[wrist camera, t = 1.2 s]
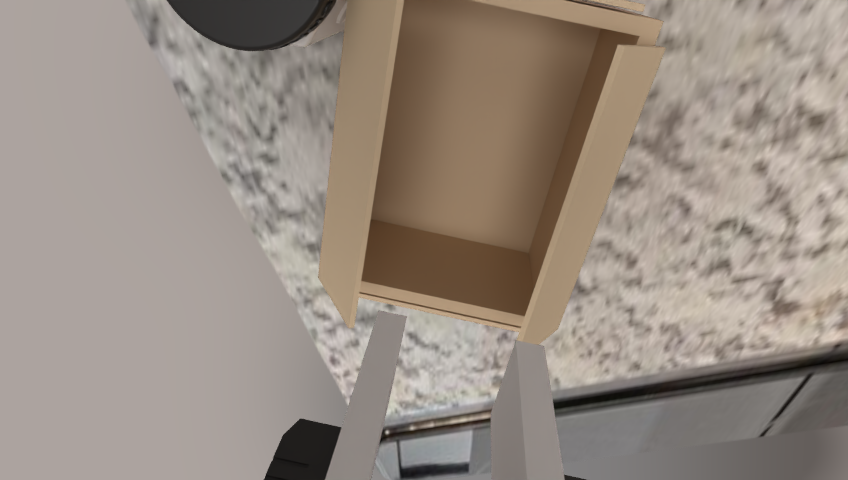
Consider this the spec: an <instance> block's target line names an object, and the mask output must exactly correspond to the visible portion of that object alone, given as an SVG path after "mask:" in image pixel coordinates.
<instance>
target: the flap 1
mask: <svg viewBox="0 0 848 480" xmlns="http://www.w3.org/2000/svg"><path fill="white" fill-rule="evenodd" d="M403 4H404V0H347V10H346V19H345V28H344V38H343V47H342V57H341V66H340V76H339V85H338V94H337V104H336V113H335V123H334V132H333V142H332V151H331V161H330V170H329V179H328V189H327V198H326V208H325V217H324V227H323V236H322V245H321V255H320V264H319V274H318V278H319V280H320V281H321V283H322V285H323V286H324V288H325V290H326V291H327V293H328V295H329V296H330V298H331V300H332V301H333V303H334V305H335V306H336V308H337V310H338V311H339V313H340V315H341V316H342V318H343V320H344V321H345V323H346V325H347V326H348V328H354V325H355V318H356V311H357V305H358V298H359V292H360V285H361V279H362V272H363V266H364V259H365V253H366V246H367V239H368V233H369V226H370V220H371V213H372V207H373V200H374V194H375V187H376V181H377V174H378V167H379V161H380V154H381V148H382V141H383V135H384V128H385V122H386V115H387V109H388V102H389V95H390V89H391V82H392V76H393V69H394V63H395V56H396V50H397V43H398V37H399V30H400V23H401V17H402V10H403Z"/></svg>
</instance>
